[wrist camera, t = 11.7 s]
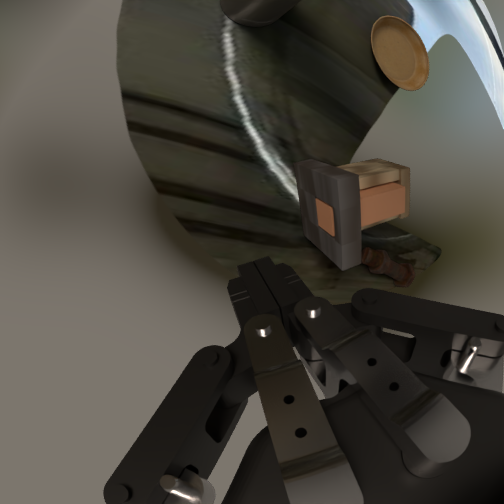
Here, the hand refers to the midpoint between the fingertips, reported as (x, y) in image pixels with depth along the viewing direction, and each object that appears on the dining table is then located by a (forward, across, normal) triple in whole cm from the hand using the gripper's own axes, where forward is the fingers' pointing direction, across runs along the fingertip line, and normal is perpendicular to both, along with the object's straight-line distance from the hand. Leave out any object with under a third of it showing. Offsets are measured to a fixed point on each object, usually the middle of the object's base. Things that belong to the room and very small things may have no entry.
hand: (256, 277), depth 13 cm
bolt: (+27, +30, -25) cm, 48 cm away
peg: (+21, +20, -8) cm, 30 cm away
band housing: (+27, +21, -8) cm, 35 cm away
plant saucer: (+28, +37, +16) cm, 49 cm away
